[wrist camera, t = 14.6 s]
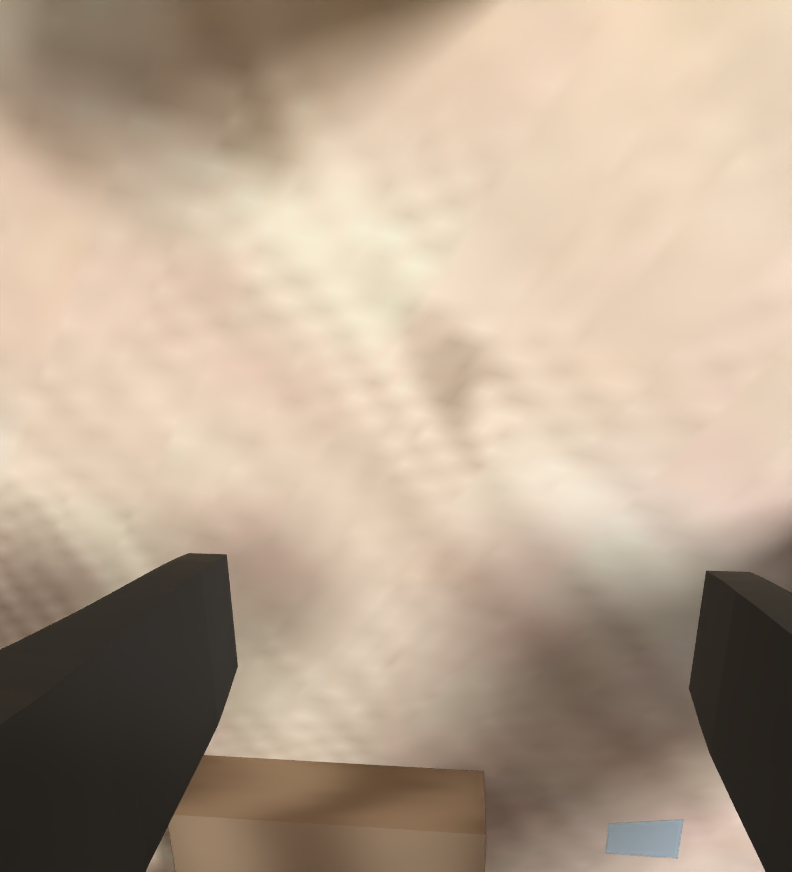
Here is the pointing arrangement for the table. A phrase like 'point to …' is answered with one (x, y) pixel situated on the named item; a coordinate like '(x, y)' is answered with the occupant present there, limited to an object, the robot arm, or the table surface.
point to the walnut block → (328, 818)
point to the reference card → (645, 838)
